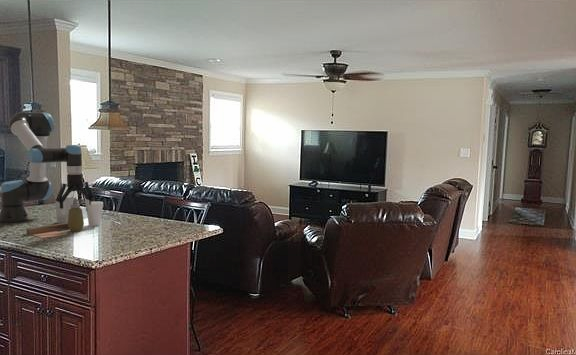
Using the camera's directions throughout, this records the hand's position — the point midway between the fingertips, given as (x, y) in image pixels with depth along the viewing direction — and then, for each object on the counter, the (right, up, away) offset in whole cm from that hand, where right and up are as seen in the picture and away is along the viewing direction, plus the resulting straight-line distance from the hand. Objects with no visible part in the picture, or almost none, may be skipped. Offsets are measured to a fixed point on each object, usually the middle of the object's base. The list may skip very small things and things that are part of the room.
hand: (75, 212), depth 255 cm
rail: (-6, -10, -3) cm, 12 cm away
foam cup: (+3, -8, +17) cm, 19 cm away
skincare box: (-16, -8, +22) cm, 28 cm away
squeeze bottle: (0, -10, +1) cm, 10 cm away
